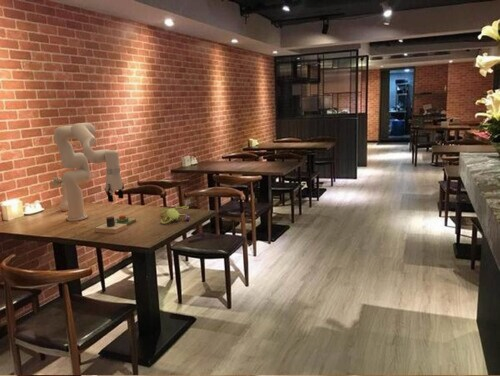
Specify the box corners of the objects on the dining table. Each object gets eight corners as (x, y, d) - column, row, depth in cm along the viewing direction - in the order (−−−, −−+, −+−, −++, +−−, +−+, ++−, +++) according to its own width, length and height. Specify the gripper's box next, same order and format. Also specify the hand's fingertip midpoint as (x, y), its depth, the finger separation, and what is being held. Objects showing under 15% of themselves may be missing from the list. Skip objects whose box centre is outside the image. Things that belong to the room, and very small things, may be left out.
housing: (109, 225, 257) (109, 219, 256) (119, 220, 266) (119, 215, 266) (126, 226, 253) (125, 220, 253) (136, 221, 262) (135, 216, 262)
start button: (118, 219, 258) (118, 216, 258) (121, 217, 261) (121, 214, 261) (123, 219, 257) (123, 216, 257) (126, 217, 260) (126, 215, 260)
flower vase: (62, 207, 310) (58, 173, 306) (82, 208, 304) (78, 174, 299) (48, 211, 298) (43, 176, 294) (69, 213, 292) (64, 177, 287)
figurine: (188, 212, 282) (188, 204, 281) (191, 222, 256) (191, 213, 255) (160, 214, 279) (160, 206, 278) (160, 225, 253) (159, 215, 252)
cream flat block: (95, 232, 243) (94, 227, 243) (107, 226, 254) (107, 222, 253) (115, 233, 239) (115, 229, 238) (127, 228, 249) (126, 223, 248)
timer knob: (112, 227, 243) (111, 218, 242) (105, 226, 244) (104, 217, 243) (116, 225, 247) (115, 216, 246) (109, 224, 248) (108, 215, 247)
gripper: (116, 169, 258) (119, 196, 261) (98, 173, 242) (101, 202, 245) (127, 169, 255) (129, 197, 258) (109, 173, 239) (112, 203, 242)
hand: (115, 199), depth 252 cm, fingers open, 9 cm apart
